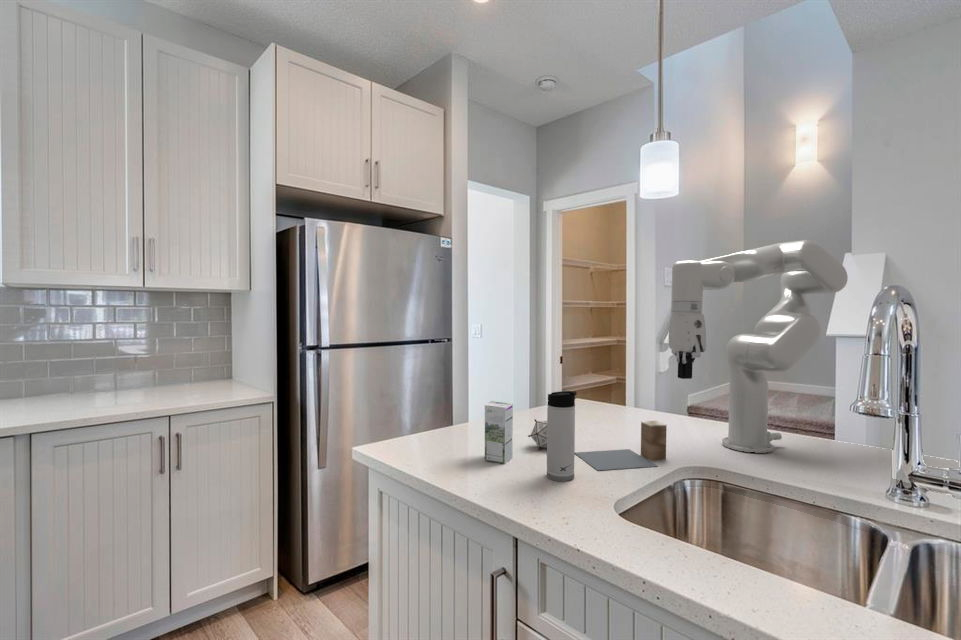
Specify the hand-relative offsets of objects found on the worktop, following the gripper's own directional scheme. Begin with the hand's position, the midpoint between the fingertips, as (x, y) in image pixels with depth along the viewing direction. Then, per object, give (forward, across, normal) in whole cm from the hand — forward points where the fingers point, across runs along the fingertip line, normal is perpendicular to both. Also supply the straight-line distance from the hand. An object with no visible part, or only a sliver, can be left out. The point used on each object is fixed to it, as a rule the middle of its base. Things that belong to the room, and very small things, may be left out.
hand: (684, 378), depth 128 cm
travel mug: (+21, -9, +38) cm, 44 cm away
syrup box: (+21, +6, +49) cm, 53 cm away
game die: (+21, +13, +34) cm, 42 cm away
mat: (+21, 0, +20) cm, 29 cm away
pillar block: (+21, 0, +9) cm, 22 cm away
